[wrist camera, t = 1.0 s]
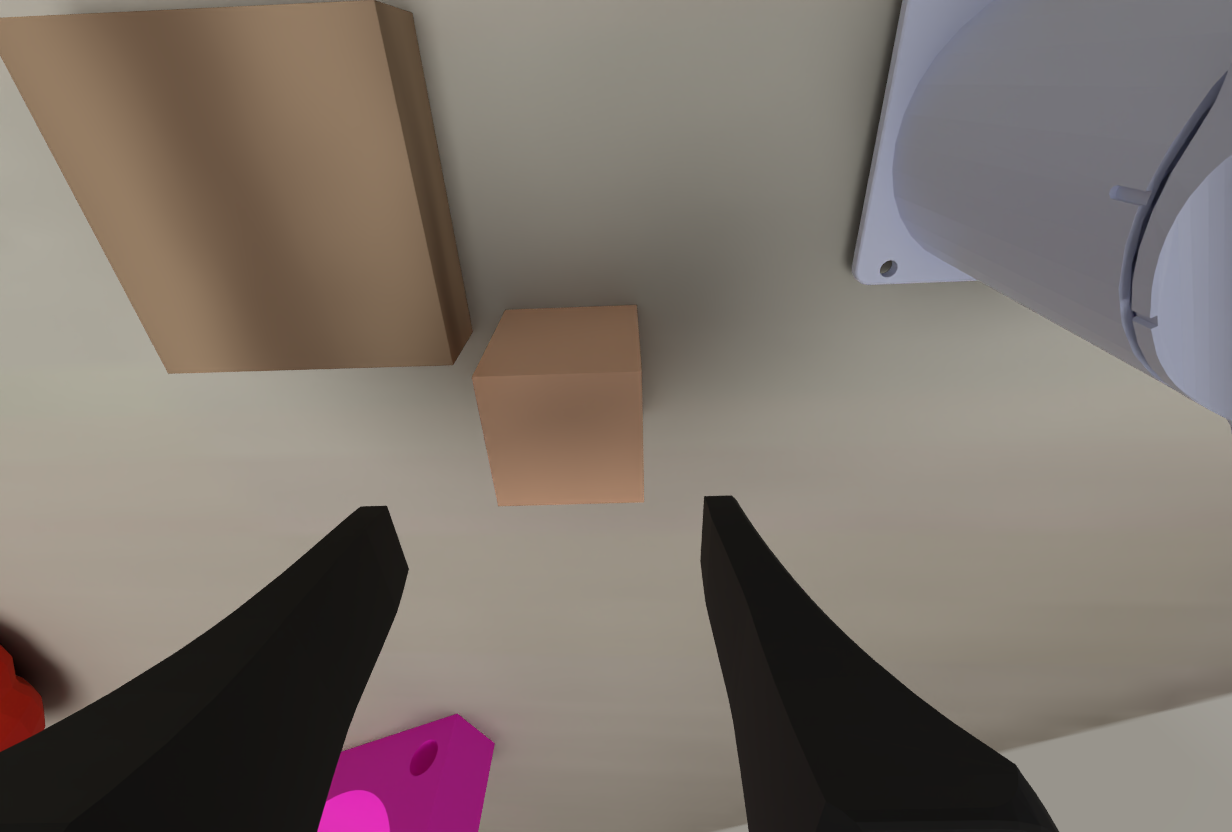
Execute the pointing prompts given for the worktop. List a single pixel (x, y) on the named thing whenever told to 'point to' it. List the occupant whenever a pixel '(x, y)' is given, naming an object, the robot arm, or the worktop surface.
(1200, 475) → the worktop surface
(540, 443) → the terracotta block
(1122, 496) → the worktop surface
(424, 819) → the toy block
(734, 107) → the worktop surface
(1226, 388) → the robot arm
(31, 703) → the tomato
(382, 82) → the walnut block
